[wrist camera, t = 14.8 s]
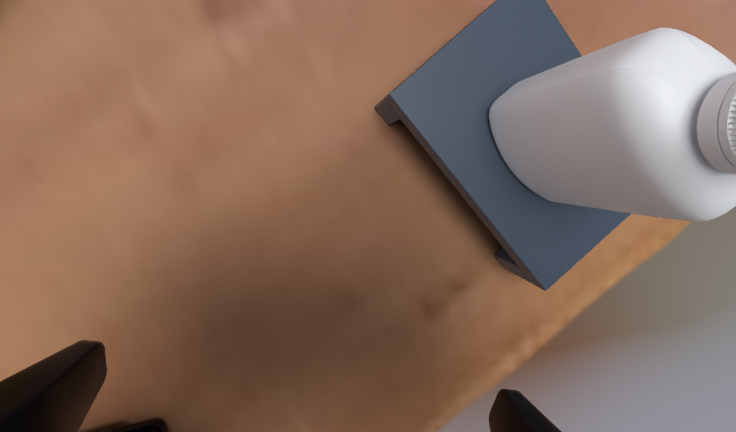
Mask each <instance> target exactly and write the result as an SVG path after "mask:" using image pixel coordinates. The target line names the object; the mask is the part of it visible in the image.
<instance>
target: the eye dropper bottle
mask: <svg viewBox="0 0 736 432" xmlns="http://www.w3.org/2000/svg"><path fill="white" fill-rule="evenodd" d="M489 122H490V126H491V130H492V134H493V137H494V140H495V143H496V145H497V147H498V150H499V152H500V154H501V156H502V158H503V159H504V161H505V163H506V164H507V166H508V167H509V168H510V170H511V171H512V172H513V173H514V175H515V176H516V177H517V178H518V179H519V180H520V181H521V182H522V183H523V184H524V185H525V186H527V187H528V188H529V189H530V190H532V191H533V192H535V193H536V194H538V195H539V196H541V197H543V198H545V199H547V200H549V201H551V202H557V203H564V204H571V205H577V206H584V207H591V208H598V209H604V210H611V211H618V212H625V213H632V214H639V215H646V216H653V217H662V218H670V219H678V220H687V221H708V220H712V219H714V218H716V217H719V216H721V215H723V214H725V213H726V212H728V211H729V210H731V209H732V208H733V207H735V206H736V65H735V64H734V63H733V62H731V61H730V60H729V59H728V58H727V57H725V56H724V55H723V54H721V53H720V52H718V51H717V50H716V49H714V48H713V47H711V46H710V45H708V44H706V43H705V42H703V41H701V40H700V39H698V38H696V37H694V36H692V35H690V34H688V33H685V32H683V31H681V30H677V29H672V28H657V29H653V30H649V31H647V32H644V33H641V34H638V35H636V36H633V37H630V38H628V39H625V40H622V41H619V42H617V43H614V44H612V45H609V46H607V47H604V48H602V49H599V50H597V51H594V52H592V53H589V54H586V55H584V56H581V57H579V58H576V59H574V60H571V61H569V62H566V63H564V64H561V65H559V66H556V67H554V68H551V69H549V70H546V71H544V72H541V73H539V74H536V75H534V76H531V77H529V78H526V79H524V80H521V81H519V82H517V83H516V84H515V85H513V86H512V87H511V88H510V89H508V90H507V91H506V92H505V93H503V94H502V95H501V96H500V97H499V98H498V99H497V100H495V101H494V103H493V104H492V106H491V107H490V110H489Z"/></svg>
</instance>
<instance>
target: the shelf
mask: <svg viewBox="0 0 736 432" xmlns="http://www.w3.org/2000/svg"><path fill="white" fill-rule="evenodd" d="M579 57H581V54H580V53H579V51H578V50H577V48H576V47H575V45H574V44H573V42H572V41H571V39H570V38H569V36H568V35H567V33H566V32H565V30H564V29H563V27H562V25H561V24H560V22H559V21H558V19H557V18H556V16H555V15H554V13H553V12H552V10H551V9H550V7H549V6H548V4H547V3H546V1H545V0H496V1H495V2H494V3H493V4H491V5H490V6H489V7H488V8H487V9H486V10H485V11H483V12H482V13H481V14H480V15H479V16H478V17H477V18H475V19H474V20H473V21H472V22H471V23H470V24H469V25H467V26H466V27H465V28H464V29H463V30H462V31H460V32H459V33H458V34H457V35H456V36H455V37H454V38H452V39H451V40H450V41H449V42H448V43H447V44H446V45H444V46H443V47H442V48H441V49H440V50H439V51H438V52H436V53H435V54H434V55H433V56H432V57H431V58H430V59H428V60H427V61H426V62H425V63H424V64H423V65H422V66H420V67H419V68H418V69H417V70H416V71H415V72H414V73H412V74H411V75H410V76H409V77H408V78H407V79H406V80H404V81H403V82H402V83H401V84H400V85H399V86H398V87H396V88H395V89H394V90H393V91H392V92H391V93H390V94H388V95H387V96H386V97H385V98H384V99H383V100H382V101H381V102H380V103H379V104H377V105H376V106H375V109H376V111H377V112H378V113H379V114H380V115H381V117H382V118H383V119H384V120H385V122H386V123H387V124H388V125H390V124H392V123H394V122H396V121H397V120H399V119H401V121H402V122H403V123H404V124H405V125H406V127H407V128H408V129H409V130H410V132H411V133H412V134H413V135H414V137H415V138H416V139H417V140H418V142H419V143H420V144H421V145H422V147H423V148H424V149H425V150H426V152H427V153H428V154H429V155H430V157H431V158H432V159H433V160H434V162H435V163H436V164H437V165H438V167H439V168H440V169H441V170H442V172H443V173H444V174H445V175H446V177H447V178H448V179H449V180H450V182H451V183H452V184H453V185H454V187H455V188H456V189H457V190H458V192H459V193H460V194H461V195H462V197H463V198H464V199H465V200H466V202H467V203H468V204H469V205H470V207H471V208H472V209H473V210H474V212H475V213H476V214H477V215H478V217H479V218H480V219H481V220H482V222H483V223H484V224H485V225H486V227H487V228H488V229H489V230H490V232H491V233H492V234H493V235H494V237H495V238H496V239H497V240H498V242H499V243H500V244H501V245H502V247H503V248H501V249H500V250H499V251H498V252H497V253H496V254H495V257H496V258H497V259H498V261H499V262H500V263H501V264H502V266H503V267H504V268H505V269H506V270H508V271H510V272H512V273H514V274H516V275H518V276H519V277H521V278H523V279H525V280H527V281H529V282H531V283H532V284H534V285H536V286H538V287H540V288H541V289H543V290H547V289H548V288H549V287H550V286H551V285H553V284H554V283H555V282H556V281H557V280H558V279H559V278H560V277H561V276H563V275H564V274H565V273H566V272H567V271H568V270H569V269H570V268H571V267H573V266H574V265H575V264H576V263H577V262H578V261H579V260H580V259H581V258H582V257H584V256H585V255H586V254H587V253H588V252H589V251H590V250H591V249H592V248H594V247H595V246H596V245H597V244H598V243H599V242H600V241H601V240H602V239H603V238H605V237H606V236H607V235H608V234H609V233H610V232H611V231H612V230H613V229H615V228H616V227H617V226H618V225H619V224H620V223H621V222H622V221H623V220H625V219H626V218H627V217H628V216H629V215H630V214H631V213H625V212H618V211H611V210H604V209H598V208H591V207H584V206H577V205H571V204H564V203H557V202H551V201H549V200H547V199H545V198H543V197H541V196H539V195H538V194H536V193H535V192H533V191H532V190H530V189H529V188H528V187H527V186H525V185H524V184H523V183H522V182H521V181H520V180H519V179H518V178H517V177H516V176H515V175H514V173H513V172H512V171H511V170H510V168H509V167H508V166H507V164H506V163H505V161H504V159H503V158H502V156H501V154H500V152H499V150H498V147H497V145H496V143H495V140H494V137H493V134H492V130H491V126H490V122H489V110H490V107H491V106H492V104H493V103H494V101H495V100H497V99H498V98H499V97H500V96H501V95H502V94H503V93H505V92H506V91H507V90H508V89H510V88H511V87H512V86H513V85H515V84H516V83H517V82H519V81H521V80H524V79H526V78H529V77H531V76H534V75H536V74H539V73H541V72H544V71H546V70H549V69H551V68H554V67H556V66H559V65H561V64H564V63H566V62H569V61H571V60H574V59H576V58H579Z"/></svg>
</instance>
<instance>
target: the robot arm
mask: <svg viewBox="0 0 736 432" xmlns="http://www.w3.org/2000/svg"><path fill="white" fill-rule="evenodd" d="M106 373H107V367H106V356H105V347H104V345H103V343H101V342H97V341H88V340H82V341H79V342H77V343H75V344H73V345H71V346H69V347H67V348H65V349H63V350H61V351H59V352H57V353H55V354H53V355H51V356H49V357H47V358H45V359H43V360H41V361H40V362H38V363H36V364H34V365H32V366H30V367H28V368H26V369H24V370H22V371H20V372H18V373H16V374H14V375H12V376H10V377H8V378H6V379H4V380H2V381H1V382H0V432H77V431H78V429H79V428H80V426H81V424H82V422H83V420H84V418H85V416H86V415H87V413H88V411H89V409H90V407H91V405H92V403H93V402H94V400H95V398H96V396H97V394H98V392H99V390H100V388H101V387H102V385H103V383H104V381H105V378H106ZM489 425H490V431H491V432H561V431H560V430H559V429H558V428H557V427H556V426H555V425H554V424H553V423H551V422H550V421H549V420H548V419H547V418H546V417H545V416H544V415H543V414H542V413H541V412H540V411H539V410H538V409H537V408H536V407H535V406H534V405H533V404H531V402H530V401H528V400H527V399H526V398H525V397H524V396H523V395H522V394H521V393H520V392H519V391H516V390H508V389H501V390H500V391H499V392H498V394H497V397H496V399H495V402H494V404H493V406H492V408H491V411H490V414H489ZM151 429H156V430H157V431H158V432H167V429H166V426H165V424H164V422H162V421H161V420H158V419H156V420H150V421H146V422H142V423H138V424H134V425H131V426H127V427H123V428H109V429H105V430H101V431H97V432H152V430H151Z"/></svg>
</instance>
